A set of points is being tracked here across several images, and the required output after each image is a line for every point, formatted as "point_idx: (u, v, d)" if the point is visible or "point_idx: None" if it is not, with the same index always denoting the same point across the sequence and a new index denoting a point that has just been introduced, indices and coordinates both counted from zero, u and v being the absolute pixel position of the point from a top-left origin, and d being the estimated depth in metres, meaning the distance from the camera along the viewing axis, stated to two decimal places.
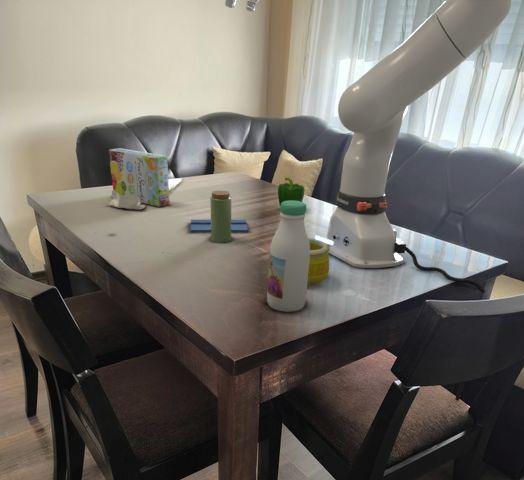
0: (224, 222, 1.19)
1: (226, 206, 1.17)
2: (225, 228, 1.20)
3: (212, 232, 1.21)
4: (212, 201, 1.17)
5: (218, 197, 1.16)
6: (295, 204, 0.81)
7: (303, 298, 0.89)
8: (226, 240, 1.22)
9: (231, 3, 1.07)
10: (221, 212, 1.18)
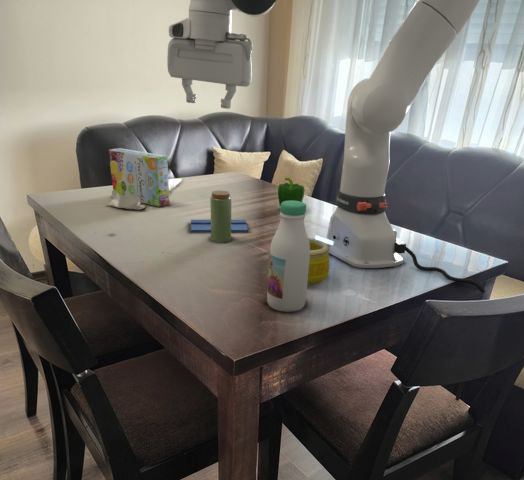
0: (224, 222, 1.19)
1: (226, 206, 1.17)
2: (225, 228, 1.20)
3: (212, 232, 1.21)
4: (212, 201, 1.17)
5: (218, 197, 1.16)
6: (295, 204, 0.81)
7: (303, 298, 0.89)
8: (226, 240, 1.22)
9: (230, 103, 1.02)
10: (221, 212, 1.18)
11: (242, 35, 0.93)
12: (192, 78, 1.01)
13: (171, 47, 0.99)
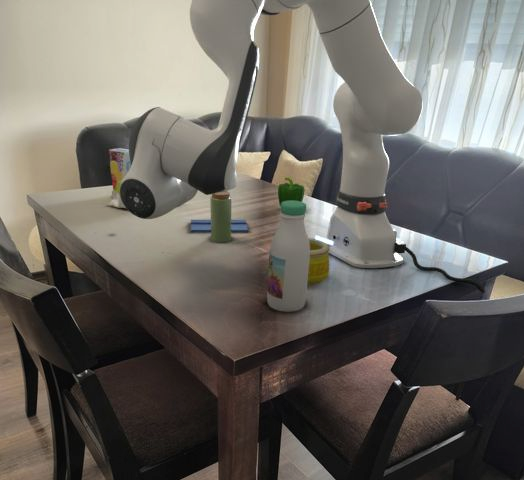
0: (224, 222, 1.19)
1: (226, 206, 1.17)
2: (225, 228, 1.20)
3: (212, 232, 1.21)
4: (212, 201, 1.17)
5: (218, 197, 1.16)
6: (295, 204, 0.81)
7: (303, 298, 0.89)
8: (226, 240, 1.22)
9: None
10: (221, 212, 1.18)
11: None
12: None
13: None
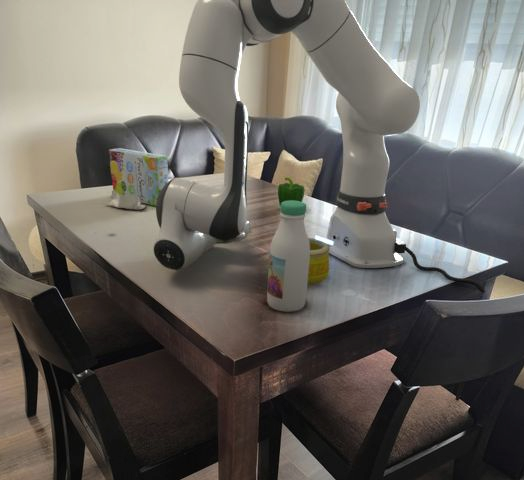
0: None
1: None
2: None
3: None
4: None
5: None
6: (295, 204, 0.81)
7: (303, 298, 0.89)
8: None
9: None
10: None
11: None
12: None
13: None
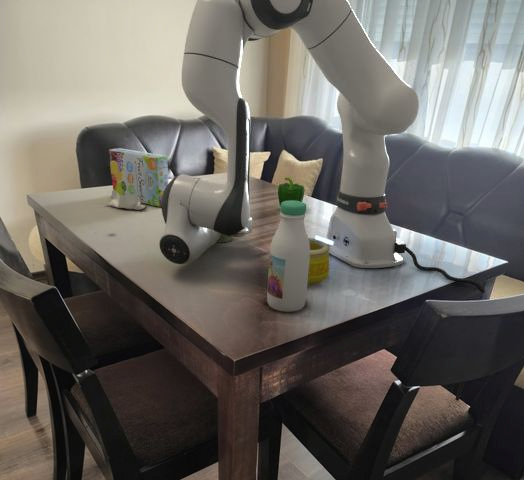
0: None
1: None
2: None
3: None
4: None
5: None
6: (295, 204, 0.81)
7: (303, 298, 0.89)
8: (226, 240, 1.22)
9: None
10: None
11: (235, 234, 1.09)
12: None
13: None
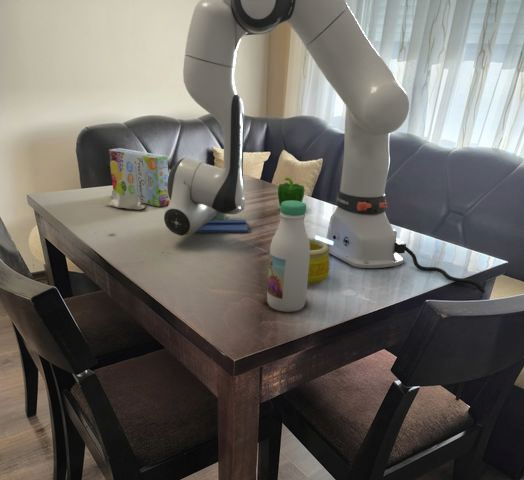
0: None
1: None
2: None
3: None
4: None
5: None
6: (295, 204, 0.81)
7: (303, 298, 0.89)
8: (222, 218, 1.38)
9: None
10: None
11: None
12: None
13: None
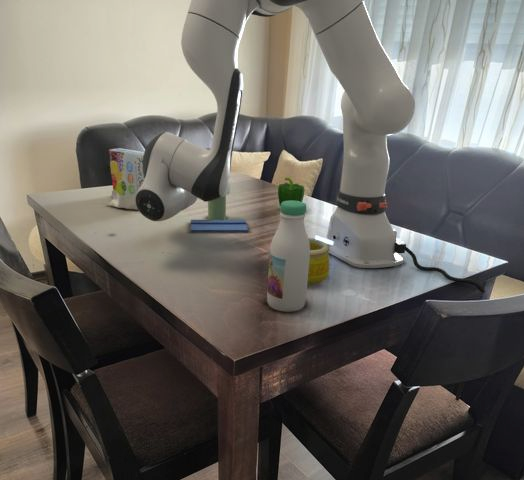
0: (219, 202, 1.35)
1: None
2: (220, 208, 1.36)
3: (209, 211, 1.38)
4: None
5: None
6: (295, 204, 0.81)
7: (303, 298, 0.89)
8: (222, 218, 1.38)
9: None
10: None
11: None
12: None
13: None
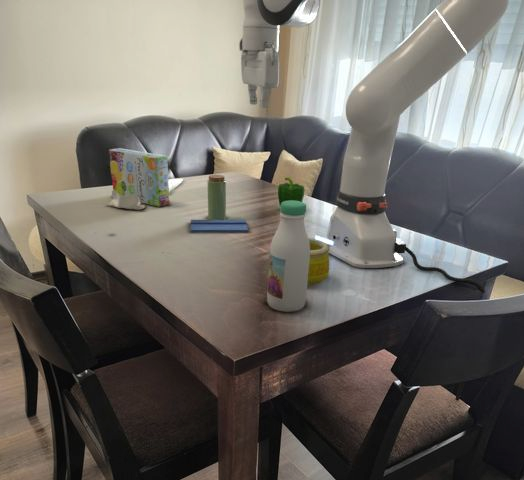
0: (219, 202, 1.35)
1: (221, 188, 1.33)
2: (220, 208, 1.36)
3: (209, 211, 1.38)
4: (209, 183, 1.33)
5: (214, 180, 1.32)
6: (295, 204, 0.81)
7: (303, 298, 0.89)
8: (222, 218, 1.38)
9: (268, 104, 1.16)
10: (217, 193, 1.34)
11: (269, 43, 1.07)
12: (249, 83, 1.20)
13: (241, 58, 1.21)
